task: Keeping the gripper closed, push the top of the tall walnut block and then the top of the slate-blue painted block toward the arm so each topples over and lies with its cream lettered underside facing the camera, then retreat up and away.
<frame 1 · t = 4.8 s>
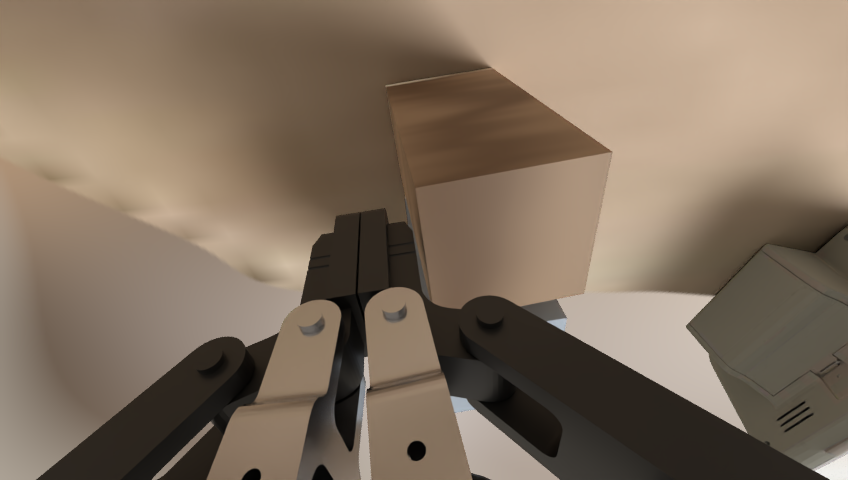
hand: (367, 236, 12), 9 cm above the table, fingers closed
slate-blue block: (451, 225, 22), on the table
walnut block: (443, 129, 19), on the table, touching gripper
digital clock: (758, 291, 30), on the table
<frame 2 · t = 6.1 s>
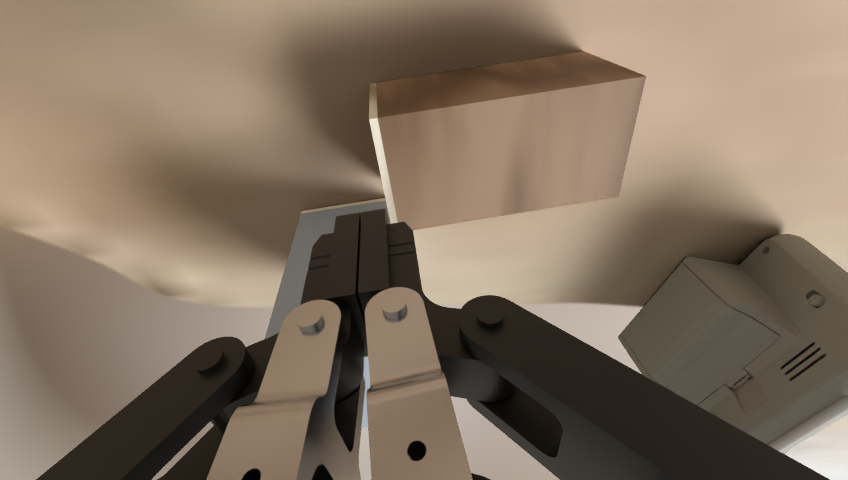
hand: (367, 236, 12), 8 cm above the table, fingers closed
slate-blue block: (356, 239, 22), on the table
walnut block: (380, 156, 17), point 2 cm above the table, tilted 90°
digital clock: (687, 302, 30), on the table
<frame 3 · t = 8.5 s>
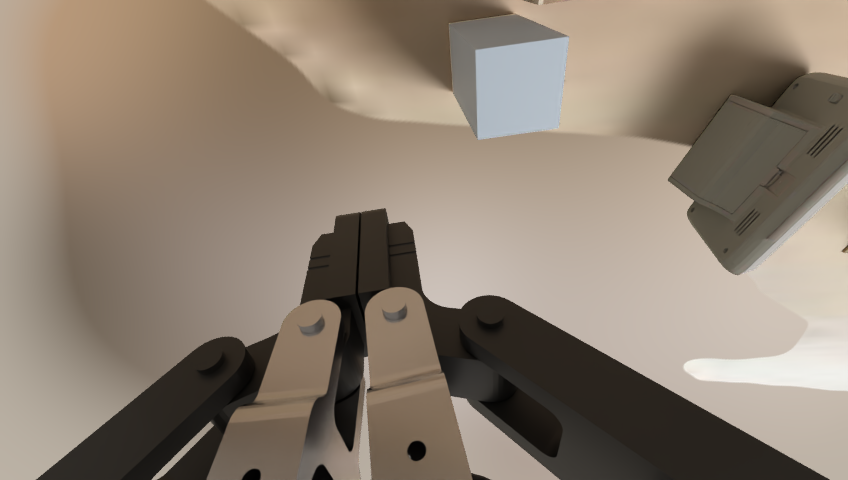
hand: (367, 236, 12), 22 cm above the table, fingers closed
slate-blue block: (482, 55, 29), on the table
digital clock: (726, 148, 36), on the table
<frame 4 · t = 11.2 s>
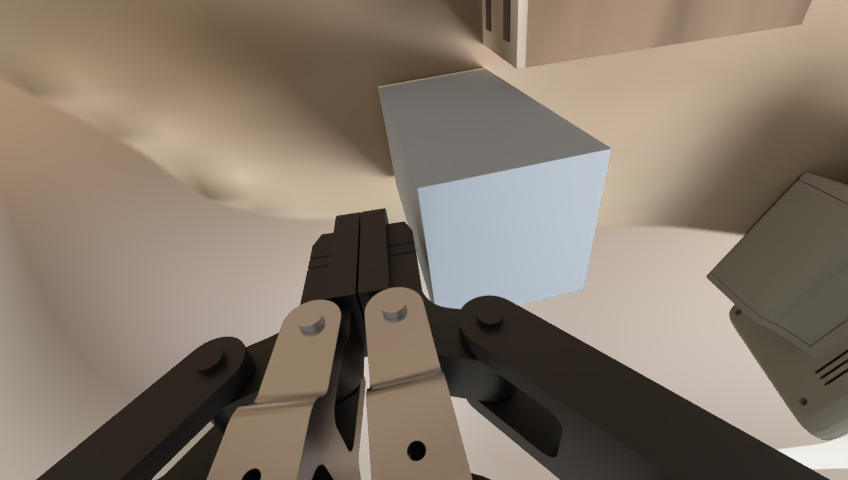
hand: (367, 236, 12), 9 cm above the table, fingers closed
slate-blue block: (436, 129, 19), on the table, tilted 5°, touching gripper
digital clock: (788, 236, 26), on the table
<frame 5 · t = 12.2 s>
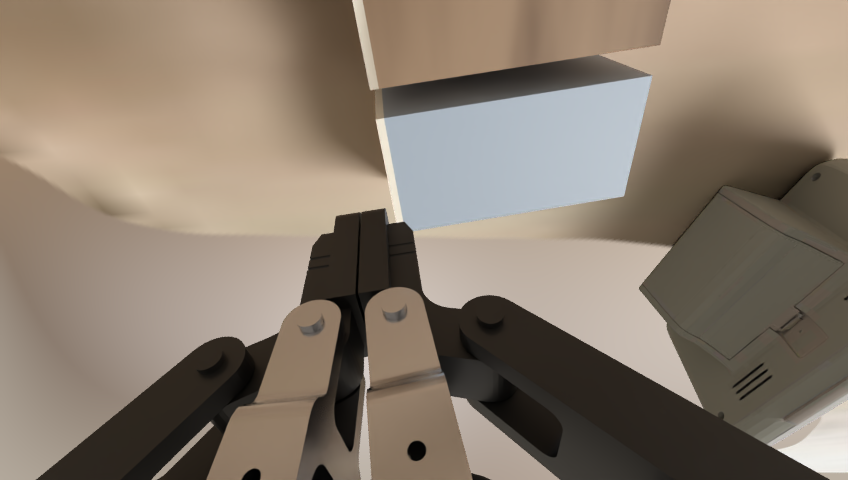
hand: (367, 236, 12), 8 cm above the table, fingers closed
slate-blue block: (386, 156, 17), point 2 cm above the table, tilted 90°
digital clock: (718, 248, 26), on the table
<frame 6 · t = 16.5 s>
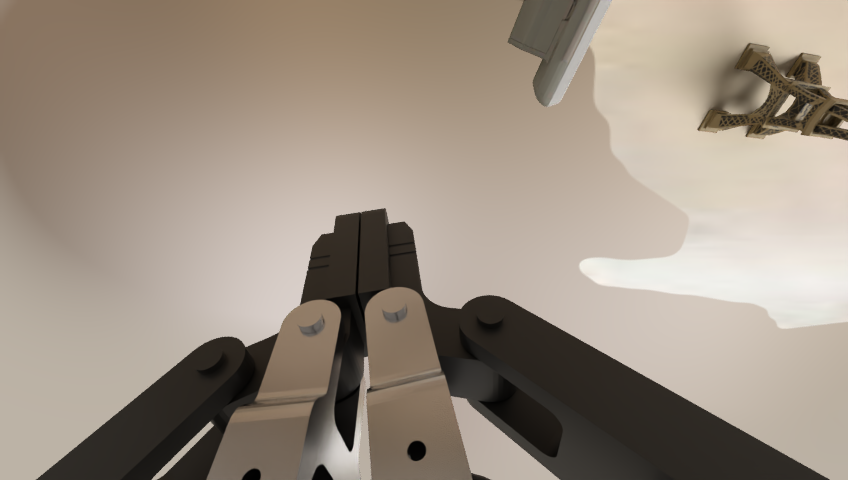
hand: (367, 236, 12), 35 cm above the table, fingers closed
eiffel tower: (754, 94, 48), on the table
digital clock: (557, 10, 40), on the table
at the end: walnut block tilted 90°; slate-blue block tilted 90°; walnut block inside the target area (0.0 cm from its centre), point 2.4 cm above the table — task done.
